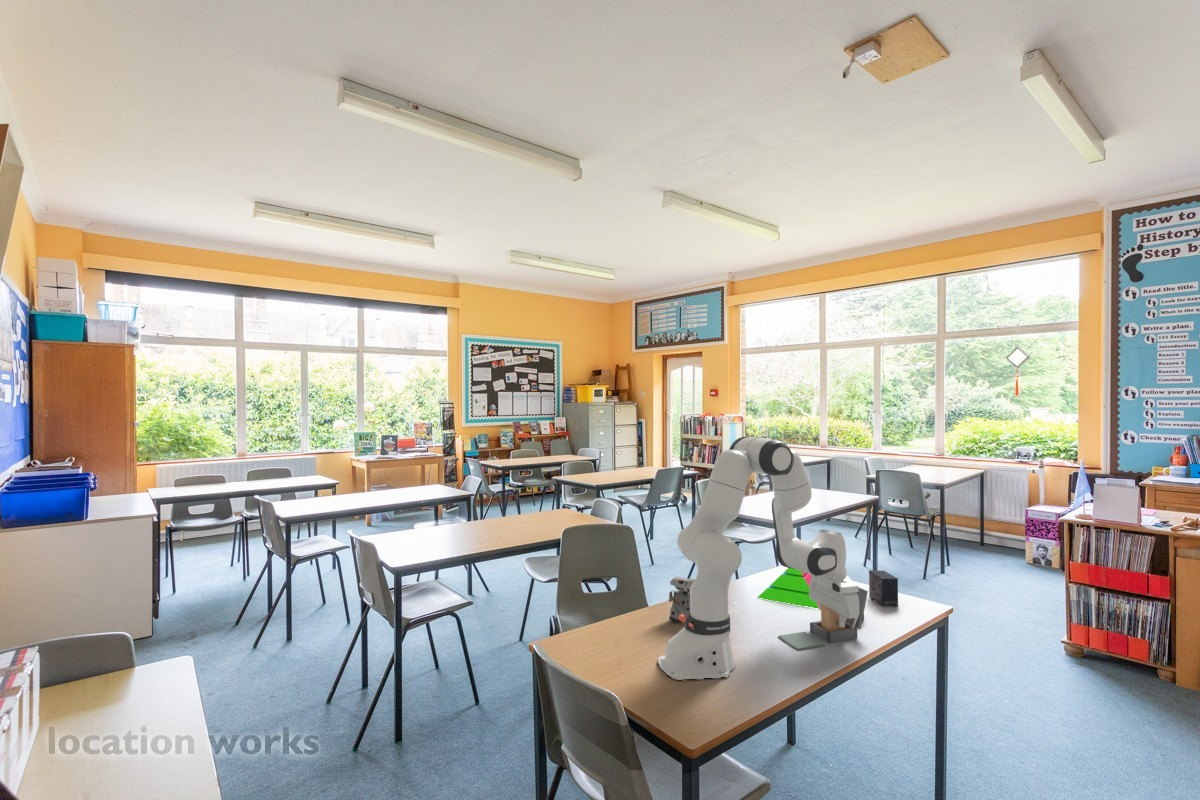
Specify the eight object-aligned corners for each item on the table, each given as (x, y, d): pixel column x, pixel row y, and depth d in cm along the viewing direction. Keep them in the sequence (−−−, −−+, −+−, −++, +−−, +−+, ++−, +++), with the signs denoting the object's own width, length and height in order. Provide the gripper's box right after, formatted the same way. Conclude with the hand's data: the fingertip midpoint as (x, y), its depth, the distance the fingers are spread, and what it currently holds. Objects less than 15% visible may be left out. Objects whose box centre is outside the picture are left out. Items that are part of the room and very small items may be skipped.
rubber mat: (797, 650, 170) (797, 648, 170) (778, 637, 179) (778, 635, 179) (824, 645, 172) (824, 643, 172) (804, 633, 182) (804, 631, 182)
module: (829, 638, 178) (829, 610, 178) (821, 633, 182) (820, 606, 182) (845, 636, 179) (844, 608, 179) (836, 631, 183) (836, 604, 183)
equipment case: (829, 643, 174) (828, 595, 174) (809, 631, 184) (808, 585, 184) (869, 636, 178) (867, 590, 178) (847, 625, 188) (846, 580, 188)
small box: (899, 606, 204) (899, 578, 204) (882, 606, 204) (881, 578, 204) (885, 596, 214) (884, 569, 215) (868, 597, 215) (867, 569, 215)
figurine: (688, 629, 187) (687, 585, 187) (666, 619, 197) (665, 576, 197) (708, 623, 192) (707, 580, 192) (685, 613, 202) (685, 572, 202)
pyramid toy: (775, 582, 236) (775, 549, 236) (838, 593, 221) (837, 557, 221) (754, 600, 216) (753, 563, 216) (821, 613, 201) (820, 573, 201)
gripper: (803, 571, 190) (804, 612, 190) (845, 590, 170) (846, 635, 170) (819, 569, 191) (820, 609, 191) (862, 588, 172) (863, 633, 172)
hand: (833, 622), depth 180 cm, fingers open, 6 cm apart
